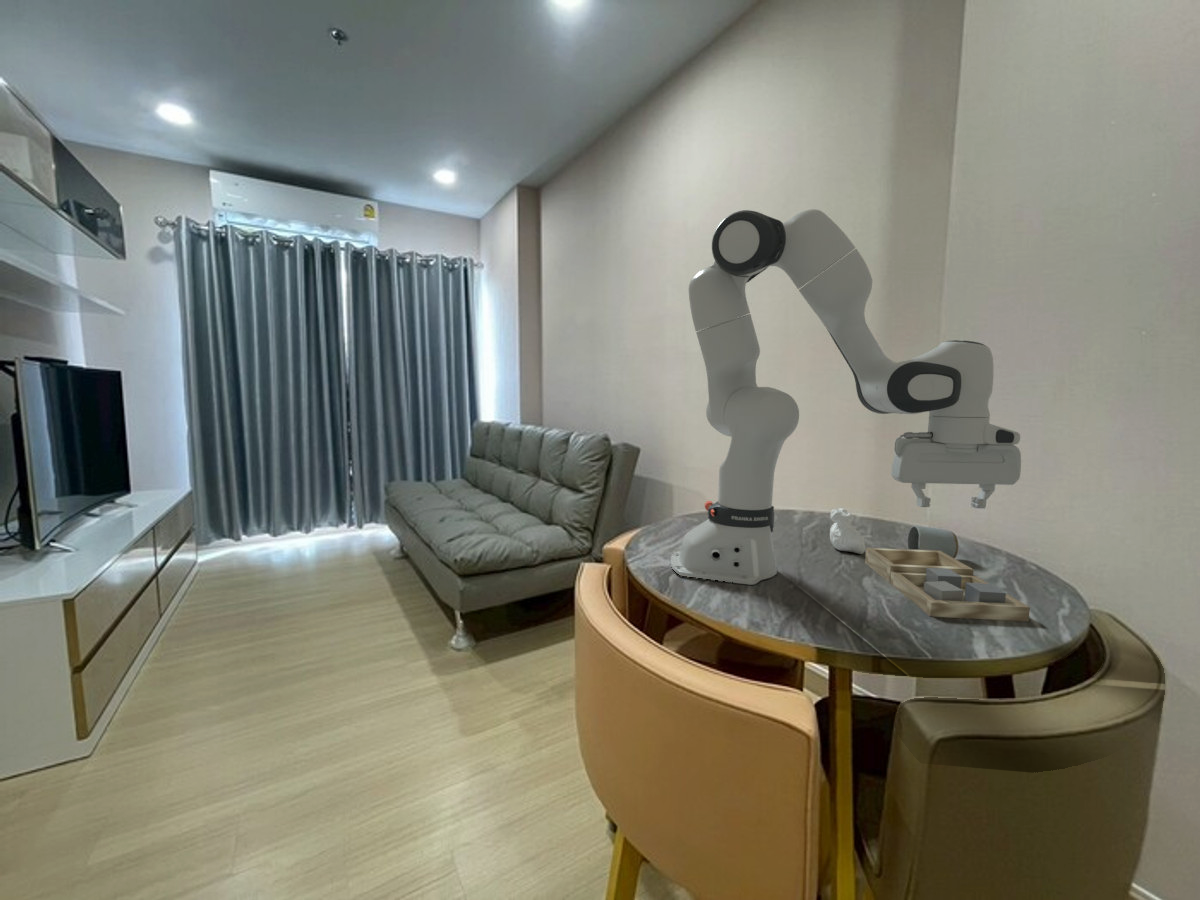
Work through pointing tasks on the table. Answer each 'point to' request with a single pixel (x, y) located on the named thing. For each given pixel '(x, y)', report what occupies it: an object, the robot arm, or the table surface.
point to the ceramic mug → (932, 540)
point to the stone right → (983, 593)
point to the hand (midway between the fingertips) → (950, 507)
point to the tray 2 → (914, 591)
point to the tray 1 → (911, 561)
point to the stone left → (943, 591)
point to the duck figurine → (845, 532)
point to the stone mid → (943, 576)
